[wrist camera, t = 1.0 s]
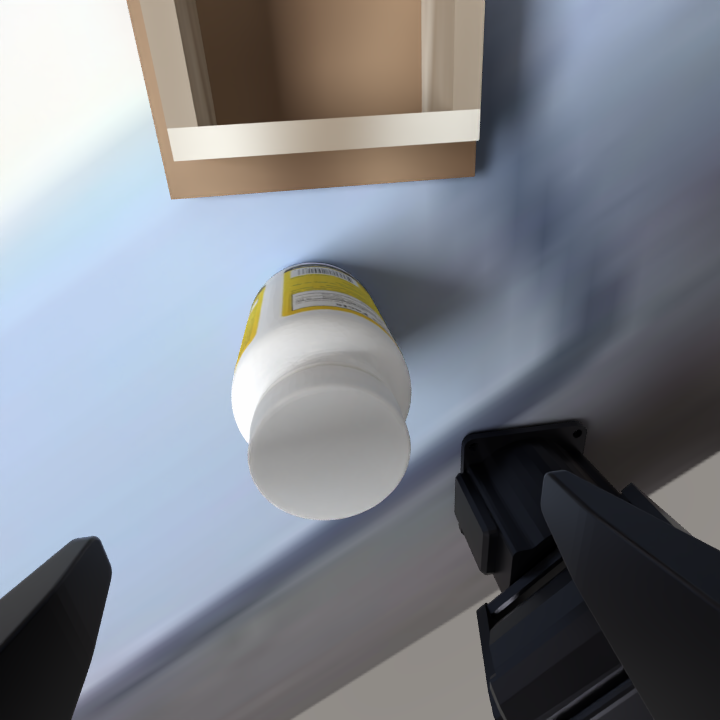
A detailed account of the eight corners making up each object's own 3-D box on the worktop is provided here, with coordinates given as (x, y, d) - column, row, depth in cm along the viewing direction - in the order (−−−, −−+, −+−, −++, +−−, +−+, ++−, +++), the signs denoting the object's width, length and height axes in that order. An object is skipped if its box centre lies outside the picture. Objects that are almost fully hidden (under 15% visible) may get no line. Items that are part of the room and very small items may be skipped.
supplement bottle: (297, 397, 21) (297, 573, 12) (224, 304, 19) (160, 436, 10) (397, 338, 21) (473, 477, 12) (334, 234, 18) (369, 309, 10)
